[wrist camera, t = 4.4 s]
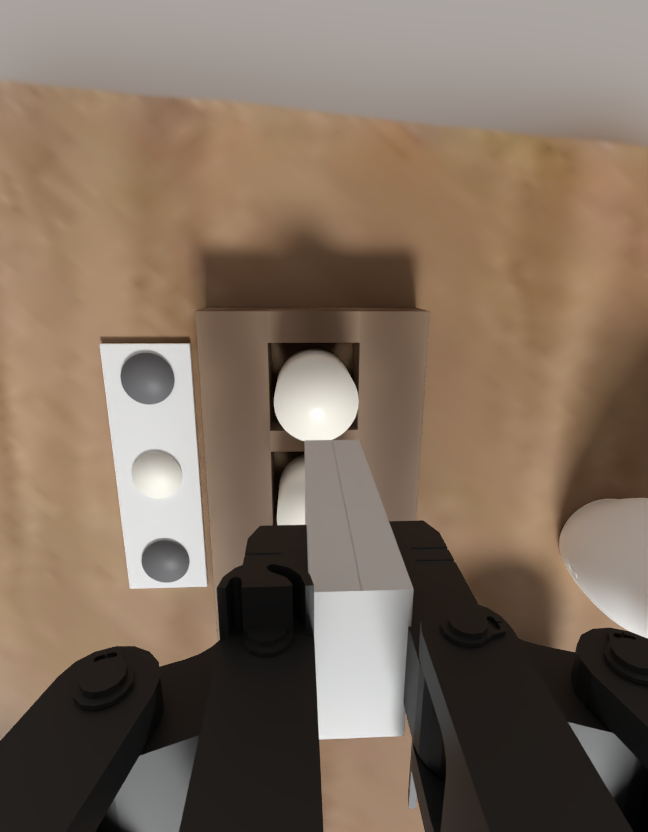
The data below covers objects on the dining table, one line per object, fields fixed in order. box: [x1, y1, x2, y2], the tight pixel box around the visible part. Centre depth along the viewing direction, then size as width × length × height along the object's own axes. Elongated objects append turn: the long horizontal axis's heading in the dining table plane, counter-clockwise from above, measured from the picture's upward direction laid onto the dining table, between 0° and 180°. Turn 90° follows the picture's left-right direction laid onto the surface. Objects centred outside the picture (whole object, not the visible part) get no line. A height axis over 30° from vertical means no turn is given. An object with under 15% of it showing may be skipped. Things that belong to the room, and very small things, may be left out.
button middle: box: [277, 454, 305, 525], centre depth 26 cm, size 4×4×4 cm
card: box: [100, 343, 208, 589], centre depth 30 cm, size 5×16×1 cm, turn 0°
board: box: [195, 308, 430, 641], centre depth 29 cm, size 12×20×3 cm, turn 0°
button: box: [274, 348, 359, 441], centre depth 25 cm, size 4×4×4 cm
